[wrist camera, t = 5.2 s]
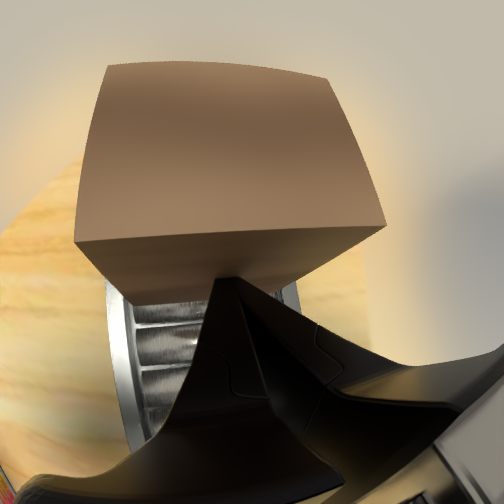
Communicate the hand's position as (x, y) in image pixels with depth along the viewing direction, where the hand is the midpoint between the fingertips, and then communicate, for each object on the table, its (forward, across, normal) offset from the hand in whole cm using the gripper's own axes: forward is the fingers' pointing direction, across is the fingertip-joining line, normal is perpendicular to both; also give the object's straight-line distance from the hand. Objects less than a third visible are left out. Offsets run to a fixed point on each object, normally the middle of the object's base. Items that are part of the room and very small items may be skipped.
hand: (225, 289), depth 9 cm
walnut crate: (+5, 0, +1) cm, 5 cm away
